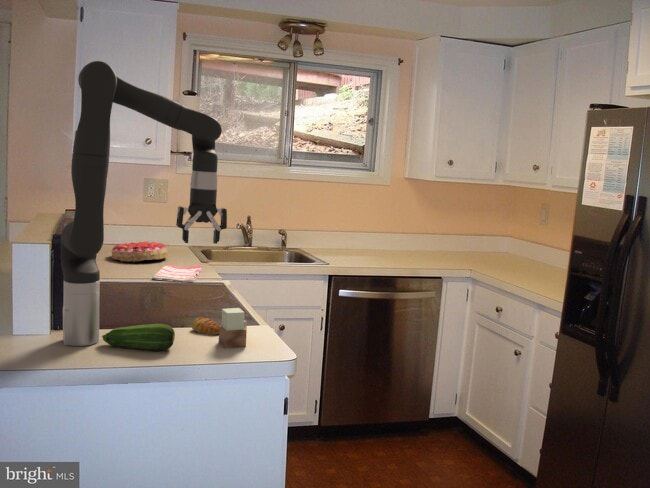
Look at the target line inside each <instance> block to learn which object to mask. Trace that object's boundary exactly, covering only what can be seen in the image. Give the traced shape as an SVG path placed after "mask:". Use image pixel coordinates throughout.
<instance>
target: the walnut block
mask: <svg viewBox="0 0 650 488" xmlns="http://www.w3.org/2000/svg"><path fill="white" fill-rule="evenodd" d="M247 334H248V333H247V330H246V329H245V328H244V330H230V331H226V330H225V329H224V328H223V327H222V325H220V326H219V334H218V343H219V344H220V345H221V346H222V347H223V349H225V350H226V349H227V348H228V349H235V348H236V349H237V348H246V347H247Z"/></svg>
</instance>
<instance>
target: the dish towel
mask: <svg viewBox="0 0 650 488" xmlns="http://www.w3.org/2000/svg"><path fill="white" fill-rule="evenodd" d="M202 270H203V265H201V264H200V265H196V266H188V267H186V266H175V265H172V264H165V265H164V266H163V267H162V268H161V269H160V270H158V271H157V272H156V273H155V274H153V275H152V278H151V280H153V279H162V280H173V281H172V282H175V281H183V282H182V283H195V281H196V280H195V279H197V278H198V277H199V276H200V275H201V274H202V273H203V272H202ZM201 272H202V273H201ZM200 273H201V274H200ZM199 274H200V275H199ZM198 275H199V276H198ZM197 276H198V277H197ZM196 277H197V278H196ZM194 280H195V281H194Z"/></svg>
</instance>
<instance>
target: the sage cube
mask: <svg viewBox="0 0 650 488" xmlns="http://www.w3.org/2000/svg"><path fill="white" fill-rule="evenodd" d="M245 314H246V313H245V311H243V310H242V309H241V308H240V307H230V308H221V326H222V327H223V328H224V329H225V330H226V331H230V330H244V320H245Z"/></svg>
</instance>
